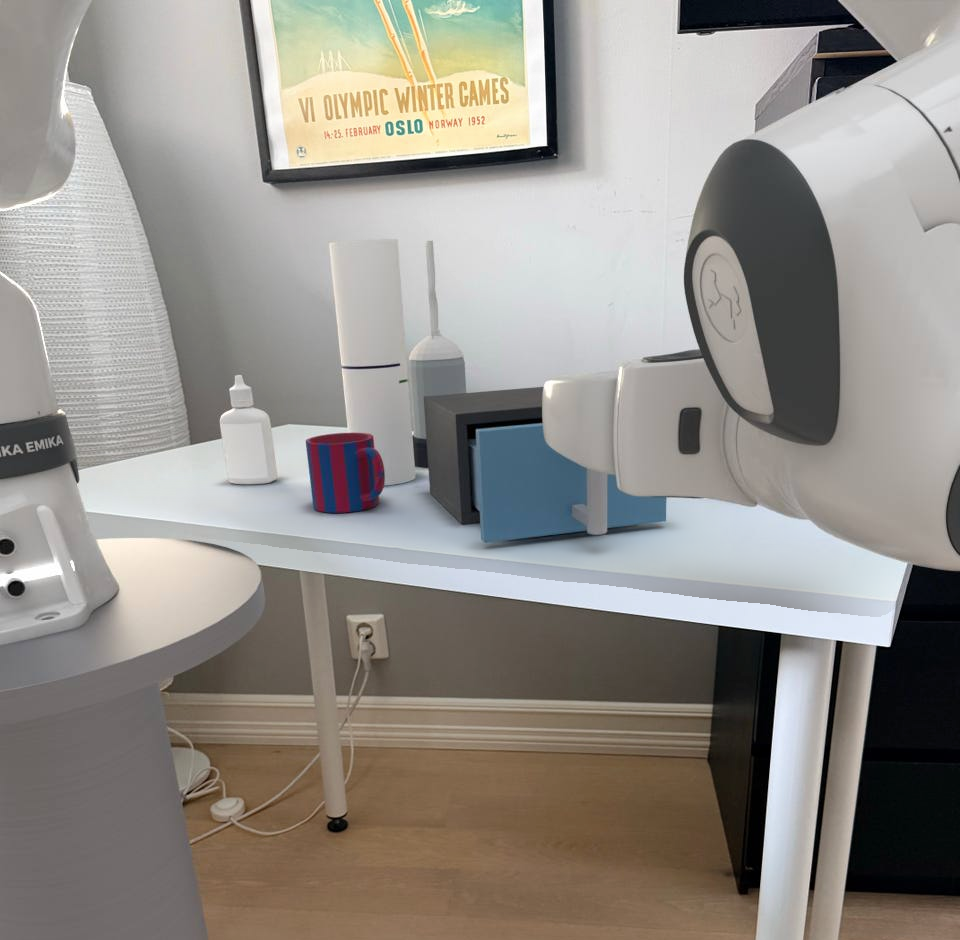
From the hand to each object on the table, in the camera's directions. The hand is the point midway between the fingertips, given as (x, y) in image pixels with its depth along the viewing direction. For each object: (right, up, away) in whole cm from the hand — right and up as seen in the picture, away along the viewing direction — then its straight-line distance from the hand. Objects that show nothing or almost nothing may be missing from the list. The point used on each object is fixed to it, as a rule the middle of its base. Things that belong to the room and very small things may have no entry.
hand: (665, 388), depth 59 cm
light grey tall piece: (-16, +6, +56) cm, 58 cm away
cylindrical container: (-23, +2, +47) cm, 53 cm away
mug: (-24, -3, +35) cm, 43 cm away
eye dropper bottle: (-38, +2, +49) cm, 63 cm away
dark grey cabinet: (-8, -2, +35) cm, 36 cm away
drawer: (-5, -5, +24) cm, 25 cm away
